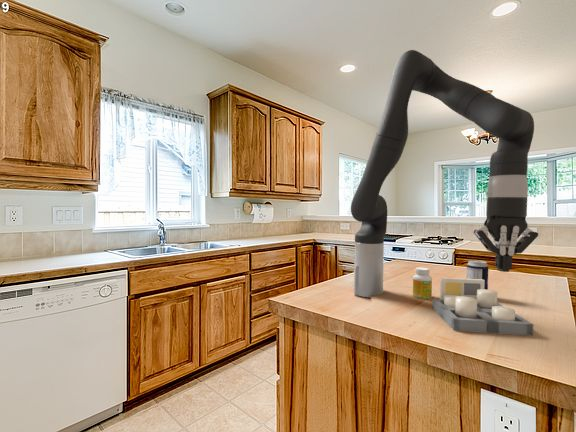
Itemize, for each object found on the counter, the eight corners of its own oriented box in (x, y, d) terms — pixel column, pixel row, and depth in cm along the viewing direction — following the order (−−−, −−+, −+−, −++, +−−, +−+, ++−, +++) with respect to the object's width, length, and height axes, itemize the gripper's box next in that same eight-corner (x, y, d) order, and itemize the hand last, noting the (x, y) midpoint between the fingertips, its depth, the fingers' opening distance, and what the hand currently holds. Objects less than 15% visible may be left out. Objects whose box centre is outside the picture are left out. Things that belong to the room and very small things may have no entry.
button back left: (447, 314, 78) (447, 299, 78) (441, 309, 83) (441, 294, 83) (465, 315, 78) (466, 300, 78) (459, 310, 82) (459, 295, 82)
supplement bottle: (423, 303, 92) (423, 271, 92) (408, 298, 97) (409, 267, 97) (435, 300, 95) (435, 269, 94) (420, 296, 99) (421, 266, 99)
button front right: (497, 329, 69) (497, 311, 69) (488, 321, 74) (488, 305, 73) (518, 330, 68) (519, 312, 68) (508, 323, 73) (508, 306, 73)
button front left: (459, 318, 70) (459, 301, 70) (452, 311, 75) (452, 295, 75) (480, 319, 70) (480, 302, 70) (471, 313, 74) (472, 296, 74)
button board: (453, 334, 69) (454, 295, 69) (430, 309, 87) (431, 277, 86) (532, 340, 66) (533, 299, 66) (492, 312, 84) (493, 279, 84)
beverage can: (490, 303, 92) (491, 263, 92) (470, 301, 94) (471, 262, 93) (482, 297, 98) (483, 260, 98) (463, 296, 99) (464, 259, 99)
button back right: (481, 309, 77) (481, 293, 77) (473, 303, 81) (474, 288, 81) (500, 310, 76) (500, 294, 76) (491, 304, 81) (492, 289, 81)
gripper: (482, 195, 67) (479, 273, 68) (550, 196, 65) (546, 276, 66) (468, 196, 75) (465, 266, 76) (528, 196, 73) (525, 269, 73)
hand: (503, 271), depth 71 cm, fingers closed
